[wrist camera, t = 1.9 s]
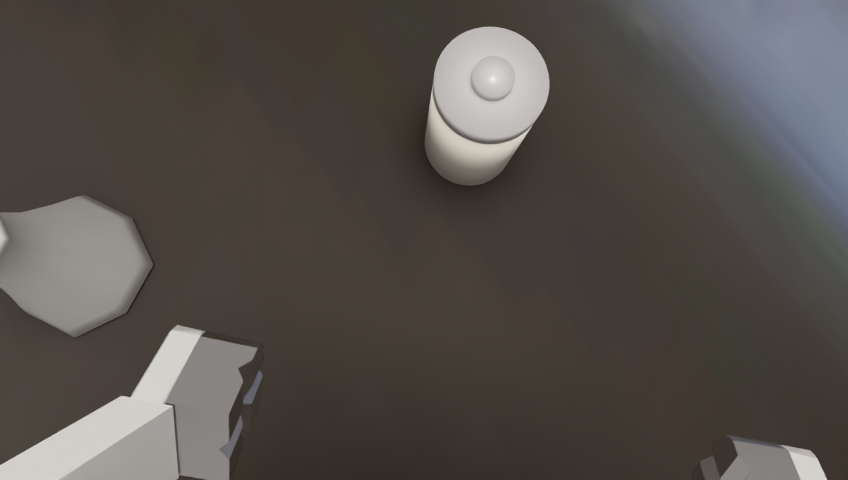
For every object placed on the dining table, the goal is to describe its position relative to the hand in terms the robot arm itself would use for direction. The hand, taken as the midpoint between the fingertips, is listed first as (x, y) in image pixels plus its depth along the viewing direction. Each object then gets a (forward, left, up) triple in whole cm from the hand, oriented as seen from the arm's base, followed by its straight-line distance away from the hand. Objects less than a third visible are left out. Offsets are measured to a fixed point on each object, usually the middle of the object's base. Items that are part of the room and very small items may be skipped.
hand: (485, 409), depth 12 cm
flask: (+15, -12, -24) cm, 31 cm away
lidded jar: (-7, -10, -24) cm, 27 cm away
